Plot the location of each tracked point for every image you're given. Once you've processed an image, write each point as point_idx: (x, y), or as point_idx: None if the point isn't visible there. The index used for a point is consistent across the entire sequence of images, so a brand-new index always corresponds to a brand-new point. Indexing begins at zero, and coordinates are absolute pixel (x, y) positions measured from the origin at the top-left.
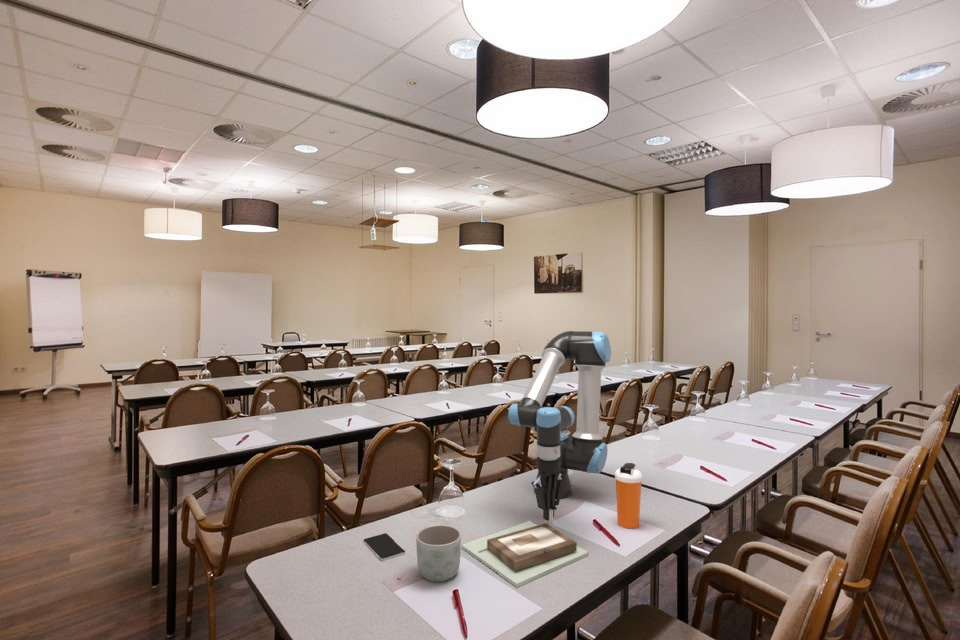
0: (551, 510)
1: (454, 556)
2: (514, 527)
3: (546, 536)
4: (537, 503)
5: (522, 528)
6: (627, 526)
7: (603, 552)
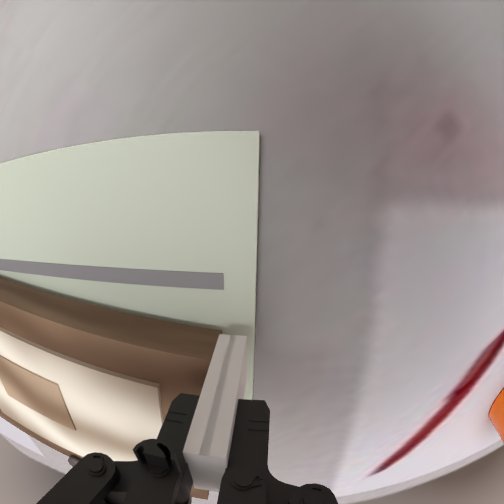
0: (210, 489)
1: None
2: (105, 153)
3: (116, 439)
4: (59, 483)
5: (136, 194)
6: (490, 418)
7: (303, 481)
